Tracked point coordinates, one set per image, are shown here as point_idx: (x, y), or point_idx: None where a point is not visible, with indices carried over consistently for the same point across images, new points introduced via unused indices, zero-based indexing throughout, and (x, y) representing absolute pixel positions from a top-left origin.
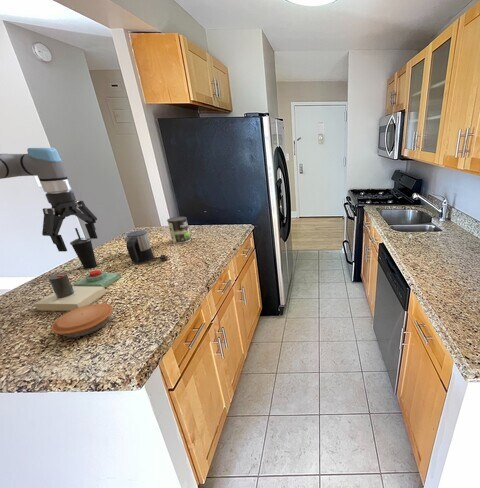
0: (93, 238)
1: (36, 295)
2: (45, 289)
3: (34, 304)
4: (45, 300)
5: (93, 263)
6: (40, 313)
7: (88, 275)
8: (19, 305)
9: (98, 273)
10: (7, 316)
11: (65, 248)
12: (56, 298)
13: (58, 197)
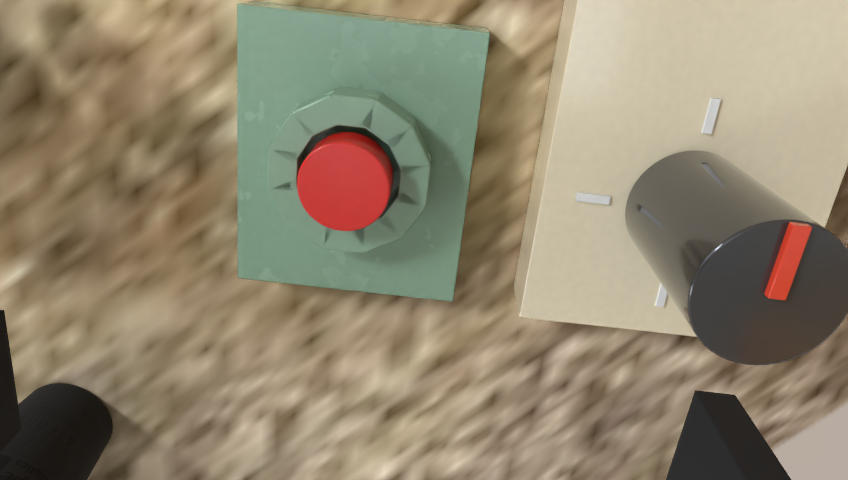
0: (8, 369)
1: (524, 466)
2: (442, 471)
3: None
4: None
5: (52, 404)
6: None
7: (363, 237)
8: (648, 468)
9: (357, 140)
10: (781, 435)
11: (738, 430)
12: None
13: None
